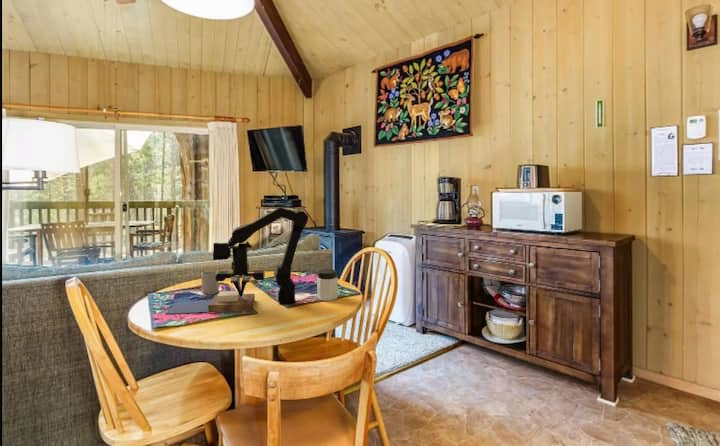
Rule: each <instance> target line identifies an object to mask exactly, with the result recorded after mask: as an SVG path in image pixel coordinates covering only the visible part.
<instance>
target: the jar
mask: <svg viewBox="0 0 720 446" xmlns="http://www.w3.org/2000/svg"><path fill="white" fill-rule="evenodd" d="M337 275H338V272H337V270H336V269H332V268H323V269H319V270H318V271H317V277H316V290H317V291H316V294H317V295H316V297H318V298H317V299H319V300H320V301H324V302H325V301H326V302H331V301H333V300H336V299H338V277H337Z"/></svg>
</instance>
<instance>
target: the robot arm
mask: <svg viewBox="0 0 720 446" xmlns="http://www.w3.org/2000/svg"><path fill="white" fill-rule="evenodd" d="M281 218H282V219H285V220H289V221H290V222H291V226H290V227H291V228H290V233H289V235H288V236H289V237H288V240H287V244H286V247H285V250H284V254H283V257H282V260H281V263H280V265H277V264H276V265H275V271H274V272H273V275H274V280H275V282H276V284H277V285H278V287H279V290H278V292H277V297H278V301H277V302H278V303H279V305H295V304H296V284H295V282H294V280H293V279H292V278H291V277H292V276H291V275H292V265H293V260H294V258H295V254H296V252H297V251H296V250H297V247H298V244H299V243H298V242H299V240H300V237H301V233H302V232H303V230H304V229H305V227H306V225H307V223H308V221H309V216H308V213H306V212H305V211H303V210H301V209H299V210H298V209H297V210H291V209H288V208H283V207H281V206H277V207H276V208H274V210H271V211H270V212H268V213H266V214H264V215H263V216H261V217H259V218H257V219H256V220H253V221H252V222H250V223H246V224H243V225H240V226H238V227H235V228H234V229H233V230H232V233H231V237H230V238H229V239H228V241H227V242H213V244H212V246H213V247H212V248H213V249H212V250H213V251H212V260H213V261H223V260H224V261H225V260H229V258H231V257H232V261H231V270H232V273H229V271H227V270H226V271H225V270H224V271H222V270H221V271H217V272H218V273H217V274H216V281H219V282H224V281H225V280H226V279H230V283H231V284H233V285H234V287H235V289H236V291H238V293H239V295H240V297H242V295H243V294H244V292H245V288H246V286H247V283H250V281H251V279H252V278H253V280H254V281H263V280H265V277H266V274H265V273H266V272H265V271H264V270H263V269H258V270H254V272H250V268H249V267H250V264H249V262H248V249H252V248H253V245H252V244H251V243H250V242H249V240H248V239H249V238H251V237H252V236H253V235H254V234H255V233H256V232H257V231H260V230H261V229H263V228H265V227H267V226H269V225H270V224H272V223H274V222H275V221H278V220H279V219H281ZM231 250H232V251H231ZM231 252H232V253H231Z"/></svg>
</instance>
